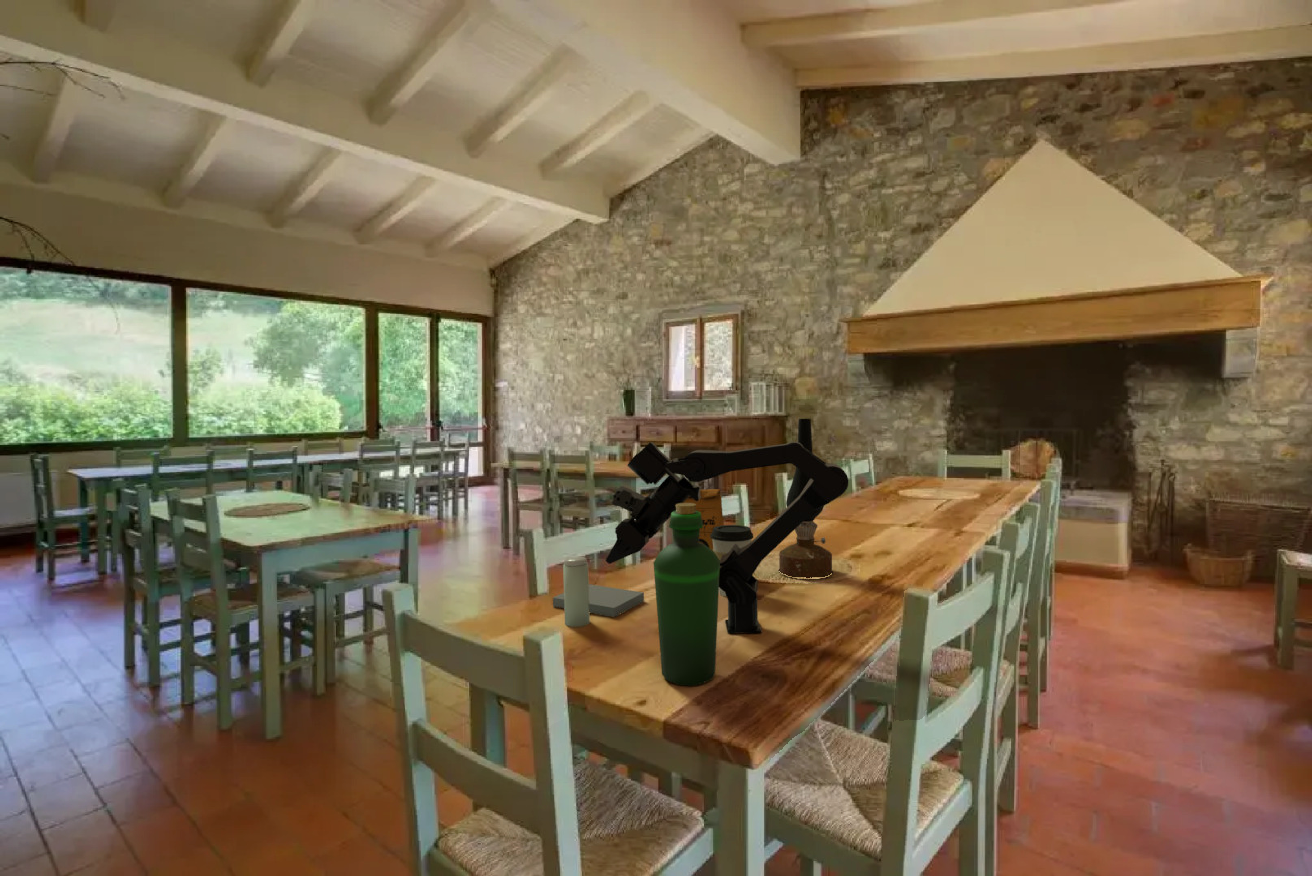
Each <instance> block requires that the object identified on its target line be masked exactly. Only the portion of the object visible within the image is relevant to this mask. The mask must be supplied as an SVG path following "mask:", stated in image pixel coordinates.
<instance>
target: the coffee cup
mask: <svg viewBox="0 0 1312 876" xmlns="http://www.w3.org/2000/svg"><path fill="white" fill-rule="evenodd" d="M710 537H711V538H712V540H713V551H714V553H715V554H716V556H717V557H718V559H719V560H721V557H722V556H723V555H725V554H727V553H728V552H729V551H730V550H731V549H732V547H733V546H734V545H735V544H737V545H738V547H739V548H742V547H744V546H746V545H748V544H749V543H750V542H751V541H752V540H753V539H754V533H752V529H751V527H749V526H746V525H739V524H724V525H722V526H717V527H714V528H713V532H712V533H711V536H710ZM719 595H720V596H722V597H726V598H727V596H726V593H725V591H723V590H722V589H720V587H719Z"/></svg>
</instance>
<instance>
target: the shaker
mask: <svg viewBox="0 0 1312 876" xmlns="http://www.w3.org/2000/svg"><path fill="white" fill-rule="evenodd" d="M562 569H563V571H562V572H563V574H562V577H563V593H564V608H563V610H564V625H565V626H567V627H571V628H579V627H585V626H587V624H588V625H589V624H590V623H591V622H590V613H589V584H590V582H589V577H590V576H589V563H588V562H587V557H586V556H585V557H584V556H571V557H570V556H569V557H566V558H564V562H563V564H562ZM584 625H585V626H584Z"/></svg>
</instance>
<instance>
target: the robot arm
mask: <svg viewBox="0 0 1312 876" xmlns="http://www.w3.org/2000/svg"><path fill="white" fill-rule="evenodd" d="M787 464H788V465H789V464H792V465H793V466H795V468H796V467H797V468H798V469H800V470H801V471H802V472H803V473H805V474H806V475H807V476H808V477H810V478H811V479H810V480H809V482H808V483H807V485H806V486H805V488H804V489H803V491H802V492H801V494H800V495H799V496H798V497H797V498H796V499H795V500H794V501H793V502H792V503H791V504H790V505H789V506H788V507H787V506H786V508H785V509H784V510H782V511H781V512H780V514H778V515H777V516H776V517H775V518H774V519H773V520H772V521H771V522H770V523H769V524H768V525H767V526H766V527H765V528H764V529H763V530H762V531H761V532H760V533H759V534H758V535H757V536H755V537H754V538H753V539H752V540H751V542H750V543H749V544H748V545H746V546H744V547H742V548H739V547H738V545H737V544H735V545H734V546H733V547H732V549H731V550H730V551H729V552H728V553H727V554H725V555H723V556H722V557H721V560H720V571H719V587H720V589H722V590H723V591H725V593H726V596H727V597H726V598H727V619H725V620H724V623H725V628H726V632H727V633H728V634H762V627H761V625H760V622H759V618H758V615H759V614H758V612H759V611H758V596H757V594H758V589H759V581H758V579H757V578H756V577H754V575H753V574H755V572H756V570H757V569H758V567H759V566H760V564H761V562H762V561H763V560H764V559H765V558H767V557H768V555H770V553H771V552H773V551H774V550H775V549H776V548H777V547H778V546H779V545H780V544H781V543H782V542H783V541H784V540H785V539H787V537H788V536H790V535H791V533H793V532H795V529H796V528H797V527H798V526H799V525H800V524H801V523H802V522H803V521H804V520H805V519H806V518H807V517H808V516H809V515H810V514H811V513H813V512H814V511H815V510H817V509H819V508H821V507H823V506H824V507H825V506H826V505H828V504H830V503H832V502H833V501H835V500H836V499H837V498H839V497H841V496H842V495H843V494H845V492H846V491H847V490H848V487H849V477H848V475H847V473H846V472H845V470H844V469H843V468H842V466H840V465H838V464H837V463H833V462H826V461H824V460H822V459H821V458H820V457H818V456H817V455H815V454H814V453H811V452H810V451H808V450H807V449H805V448H804V447H803V445H801V444H800V443H799V442H798V441H789V442H787V443H783V444H773V445H767V446H760V447H752V448H744V449H739V450H731V451H727V450H725V451H724V450H715V449H714V450H712V449H710V450H709V449H697V450H694V451H691V452H690V453H688V454H687V455H685V456H684V457H681V458H677V457H676V458H673V459H670V458H669V457H668V456H666V455H665V453H664V452H662V451H661V450H660V449H659V447H658V446H657V445H656V444H655V443H654V442H653V441H651V442H648V443H647V444H646V446H645V447H644V448H642V449H641V450H640V451H639V452H637V453H636V454H635V455H634V456H633V457H632V458H631V460H629V462H628V464H627V465H626V466H627V467H628V468H629V469H630V470H631V471H633V473H634V474H636V476H637V477H638V478H639V479H640V480H641V481H643V482H644V483H645V484H646V485H647V486H648V485H652V484H654V486H657V484H658V483H659V482H661V480H662V479H663V478H664V477H665V476H666V475H668V476H667V477H666V478H665V479H664V480H663V481H662V483H661V484H660V485H659V486H657V488H656V489H654V491H653V492H652V493H650V494H648V495H647V496H644V495H643V494H641V493H639V492H637V491H634V490H632V489H629V488H627V487H626V486H619V487H617V489H616V491H615V493H614V494H613V495H612V501H611V504H612V505H613V506H615V507H620V508H622V509H624V510H627V511H629V512H631V513H630V514H629V515H630V517H629V518H624V519H623V520H622V521H621V522H620V523H619V524H618V525H617V526H616V527H615V528H614V529H615V531H614V533H615V535H616V541H615V543H614V545H613V546H612V548H611V549H610V551H609V553H608V554H607V556H606V557H605V558H606V559H605V562H606V563H607V564H608V565H611V564H613V563H616V562H617V561H619V560H622V559H624V558H626V557H629V556H632V555H633V554H636V553H639V552H640V551H641V550H642V549H643V548H644V547H645V546H646V545H647V544H648V543H649V542H650V539H652V538H653V537H654V536H656V534H657V533H658V532H659V531H660V530H661V529H662V528H663V527H664V524H665V523H666V522H667V521H668V520H670V518H671V513H672V512H674V511H677V510H676V504H679V503H684V501H685V500H686V499H687V498H688V497H689V496H691V497H692V498H693V499H694V500H695V501H698V500H699V499H700V498H701V495H700V489H701V488H702V486H701V485H694V484H693V483H700V482H703V481H706V480H709V479H713V478H716V477H718V476H721V475H724V474H727V473H730V472H733V471H734V472H735V471H736V472H737V471H742V470H743V471H744V470H750V469H757V468H758V469H759V468H764V467H765V468H766V467H773V466H780V465H787ZM678 475H681V476H683V477H682V478H681V477H679V476H678ZM701 490H702V489H701ZM824 507H823V508H824Z"/></svg>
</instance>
